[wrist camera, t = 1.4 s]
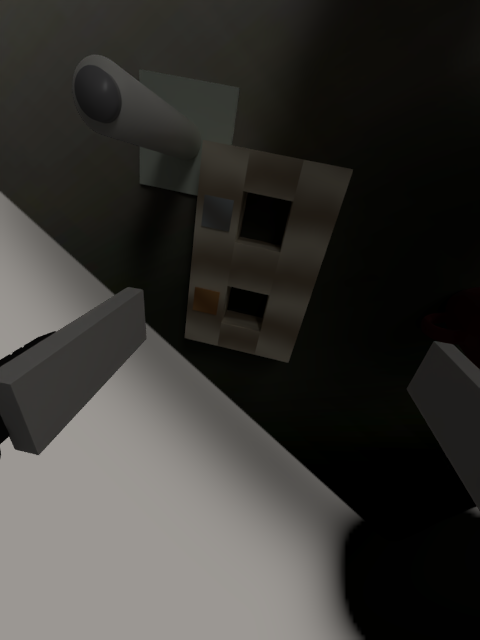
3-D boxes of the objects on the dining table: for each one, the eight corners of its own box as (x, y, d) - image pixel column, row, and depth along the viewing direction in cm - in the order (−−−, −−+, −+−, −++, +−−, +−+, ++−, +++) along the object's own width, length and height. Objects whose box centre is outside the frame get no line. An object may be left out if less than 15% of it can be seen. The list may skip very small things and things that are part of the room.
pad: (141, 70, 25) (139, 69, 25) (239, 89, 25) (239, 87, 24) (141, 183, 30) (139, 183, 30) (224, 201, 29) (223, 201, 29)
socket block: (213, 146, 27) (202, 139, 24) (343, 172, 27) (353, 169, 23) (193, 324, 38) (184, 338, 34) (287, 346, 37) (288, 363, 33)
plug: (169, 115, 26) (59, 43, 13) (203, 122, 26) (125, 55, 13) (167, 156, 28) (68, 127, 15) (199, 163, 28) (127, 139, 15)
